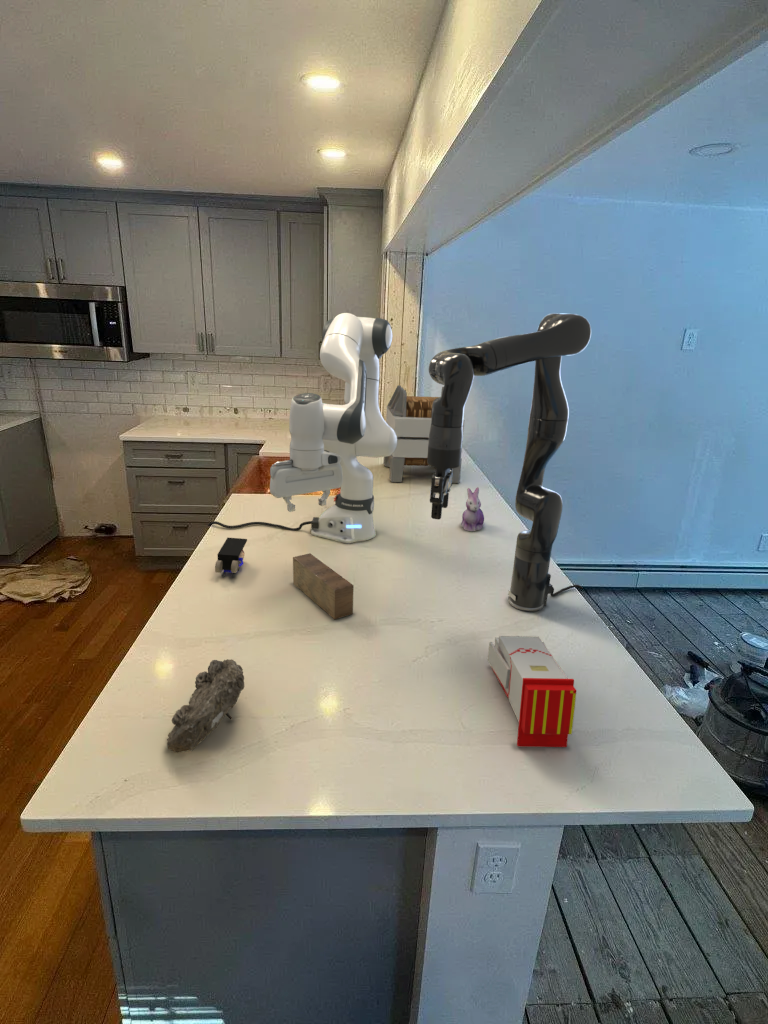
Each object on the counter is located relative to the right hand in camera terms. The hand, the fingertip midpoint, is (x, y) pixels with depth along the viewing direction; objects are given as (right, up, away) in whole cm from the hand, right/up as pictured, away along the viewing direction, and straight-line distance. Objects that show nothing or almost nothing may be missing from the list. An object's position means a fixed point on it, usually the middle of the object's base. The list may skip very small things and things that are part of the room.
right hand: (439, 512), depth 132 cm
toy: (+16, -39, -15) cm, 44 cm away
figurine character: (-58, -17, +35) cm, 70 cm away
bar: (-30, -23, +22) cm, 44 cm away
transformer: (+4, +19, +143) cm, 144 cm away
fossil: (-46, -39, -24) cm, 65 cm away
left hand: (-34, +1, +20) cm, 39 cm away
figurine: (+20, -6, +77) cm, 79 cm away
